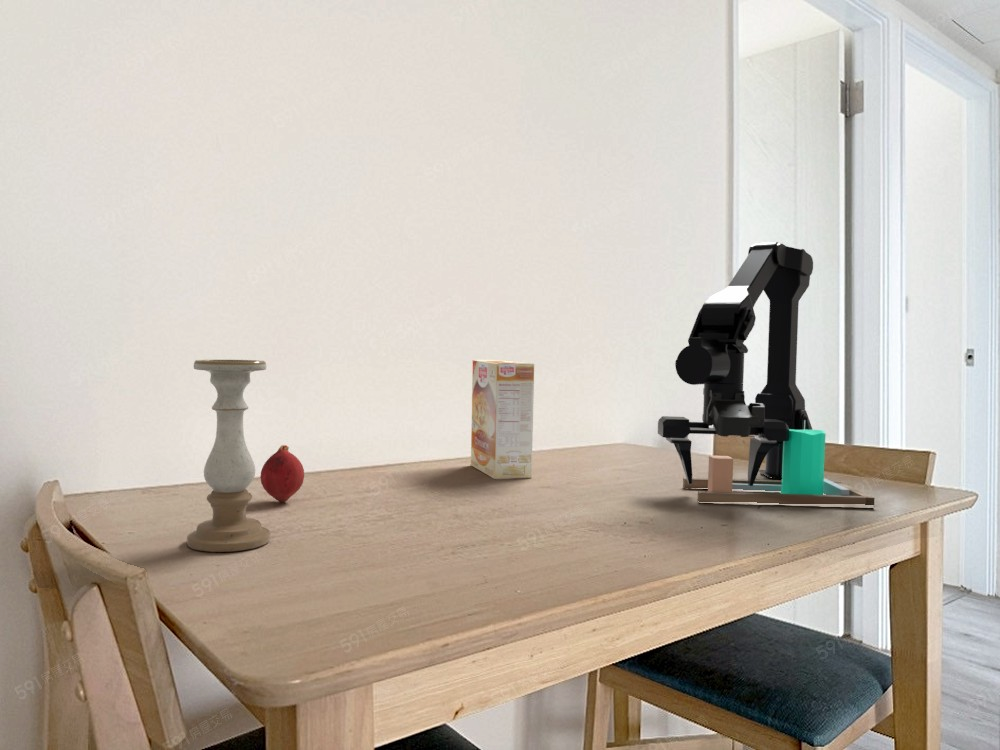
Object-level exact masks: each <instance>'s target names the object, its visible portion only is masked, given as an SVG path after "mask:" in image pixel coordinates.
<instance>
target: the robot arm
mask: <svg viewBox="0 0 1000 750" xmlns="http://www.w3.org/2000/svg"><path fill="white" fill-rule="evenodd" d="M813 270H814V261H813V257H812V255H811V254H809V253H808V252H807V251H806V250H805V249H803V248H795V247H791V246H787V245H785V244H783V243H779V242H778V241H777V242H775V241H774V242H760V243H754V244H752V245H750V246H749V248H748V253H747V257H746V258H745V259H744V261H743V263H742V264H741V266H740V268H739V269H738V270H737V272H736V273H735V275H734V276H733V278H732V279H731V281H730V282H729V284H728V286H727V287H726V288H725V289H723V290H721V291H718V292H716V293H713V294H712V295H711V296H710V297H709V298H708V299H707V300H706V301H705V302H704V303H703V304H702V306H701V308H700V310H699V312H698V314H697V317H696V319H695V322H694V323H693V327H692V329H691V332H690V334H689V336H688V337H689V338H688V339H687V343H688V345H687V346H686V347H684V348H683V349H682V350H681V351H680V352H679V353H678V355H677V358H676V360H675V363H674V366H675V371H676V374H677V376H678V378H680V379H681V381H683V382H684V383H686V384H688V385H693V386H696V385H704V386H703V390H702V391H703V393H702V394H703V407H702V409H703V410H702V411H703V412H702V417H701V418H702V421H690V419H688V418H687V417H684V416H668V415H667V416H665V415H664V416H661V417H660V418H659V419H658V421H657V435H659V436H660V437H662V438H665V440H666V441H668V443H670V444H673V446H674V448H675V449H676V452H677V454H678V456H679V459H680V462H681V465H682V468H683V471H684V475H685V478H687V482H688V484H692V478H693V467H692V466H693V464H692V452H691V449H692V440H690V439H689V435H690V434H692V435H693V434H697V435H717V436H720V437H729V436H734V437H735V436H739V437H740V438H747V437H749V436H754V438H753V437H750V438H749V449H748V451H749V452H748V453H749V454H748V465H747V466H748V467H747V480H748V485H749V486H753V484H754V481H755V480H757V479H756V478H757V476H758V473H759V472H761V473H762V474H761V473H760V474H761V475H763V474H764V475H765V476H764V475H763V476H764V477H766V476H767V477H766V478H768V477H772V478H771V479H780V478H782V460H783V441H789V429H794V430H804V420H805V429H808V430H814V429H813V426H812V424H811V421H810V418H809V415H808V413H807V411H806V401H805V398H804V396H803V394H802V393H801V391H800V389H799V387H798V386H797V384H796V383H797V382H796V381H797V380H796V379H797V378H796V377H797V360H798V359H797V356H798V333H799V331H798V328H799V306H800V305H799V304H800V303H799V302H800V300H801V299H802V297H803V295H804V294H805V293H806V291H807V289H808V288H809V286H810V279H811V275H812V274H813ZM763 292H764V293H765V296H767V298H768V301H769V312H768V313H769V314H768V315H769V316H768V317H769V318H768V345H767V373H766V375H767V376H766V384H765V386H764V387H763V389H762V390H761V391H760V392H758V393H757V394H756V396H755V398H754V400H755V401H754V402H750V403H749V404H746V401H745V398H746V397H745V391H744V369H745V368H744V367H745V354H748V352H749V349H748V347H747V346H746V345H745V343H744V342H745V341H747V339H748V337H749V335H750V334H751V332H752V330H753V328H754V327H755V323H756V317H757V316H756V315H755V311H754V307H755V305H756V302H757V301H758V299H759V298H760V296H761V294H762V293H763ZM710 426H711V427H710ZM764 460H765V467H764V468H765V469H760V468H761V466H762V464H763V461H764Z"/></svg>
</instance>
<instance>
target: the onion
mask: <svg viewBox="0 0 1000 750" xmlns="http://www.w3.org/2000/svg"><path fill="white" fill-rule="evenodd" d="M289 448H290V447H289V446H288V445H286V444H281V445H280V447H279V448H278V449H277V451H276V452H275V453H273V454H272V455H270V456H269V458H267V460H266V461H265V462H264V464H263V466H262V468H261V471H260V482H261V485H262V486H261V487H262V488H263V489H264V490H265V492H266V493H267V494H268V495H269V496H271V497H272V498H273V499H275V500H276V501H278V503H285V502H287V501H288V500H289V499H290V498H291V497H292V496H294V495H295V494H297V492H298V491H299V490H301V487H302V485H303V483H304V481H305V480H304V479H305V470H304V469H305V468H304V466H303V464H302V462H301V461H300V460H299V458H297V456H296V455H295V454H293V453H292V452H289Z"/></svg>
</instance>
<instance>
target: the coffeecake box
mask: <svg viewBox="0 0 1000 750" xmlns="http://www.w3.org/2000/svg"><path fill="white" fill-rule="evenodd" d="M471 381H472V384H471V385H472V386H471V387H472V388H471V391H472V393H471V395H472V396H471V435H470V436H471V438H470V439H471V447H470V449H471V450H470V454H471V455H470V466H471V467H473V468H475V469H476V470H478V471H480V472H482V473H483V474H486V475H487V476H488V477H490V478H492V479H494V480H510V479H512V480H513V479H514V480H515V479H516V480H517V479H531V478H533V435H534V434H533V431H534V395H535V394H534V391H535V389H534V386H535V385H534V384H535V363H529V362H521V361H512V360H499V359H498V360H497V359H473V360H472V380H471Z"/></svg>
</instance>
